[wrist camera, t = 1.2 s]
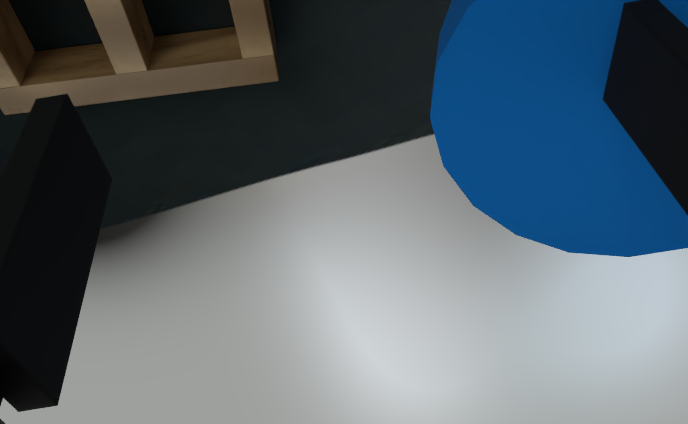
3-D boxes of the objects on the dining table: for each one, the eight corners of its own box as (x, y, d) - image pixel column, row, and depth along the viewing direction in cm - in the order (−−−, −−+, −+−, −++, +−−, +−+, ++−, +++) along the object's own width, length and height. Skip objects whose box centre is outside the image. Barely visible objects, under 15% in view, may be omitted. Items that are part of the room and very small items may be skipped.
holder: (-63, -65, 35) (-89, -33, 32) (249, -103, 35) (249, -74, 32) (20, 79, 42) (4, 115, 40) (277, 47, 42) (279, 81, 40)
